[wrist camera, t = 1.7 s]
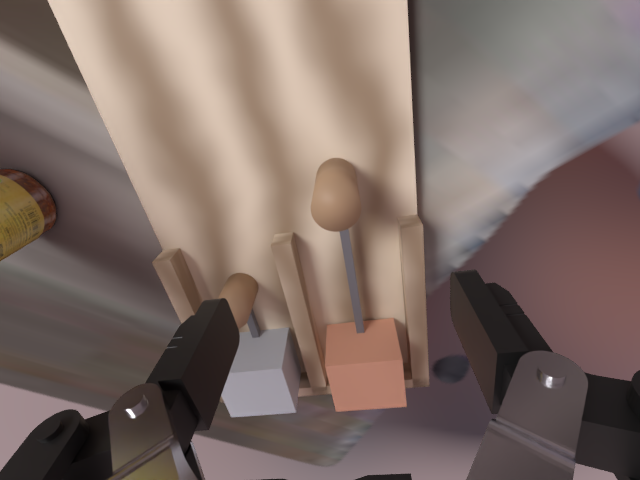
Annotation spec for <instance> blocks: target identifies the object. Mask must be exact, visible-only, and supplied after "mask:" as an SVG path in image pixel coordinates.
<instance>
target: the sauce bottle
mask: <svg viewBox="0 0 640 480" xmlns="http://www.w3.org/2000/svg"><path fill="white" fill-rule="evenodd" d="M55 220H56V206H55V203H54V201H53V199H52V197H51V195H50V194H49V192H48V191H47V190H46V189H45V188H44V187H43V186H42V185H41V184H40V183H38V182H37V181H36V180H35V179H33V178H32V177H31V176H29V175H27V174H25V173H23V172H20V171H16V170H12V169H0V261H1V260H3V259H5V258H6V257H8V256H10V255H11V254H13V253H14V252H16V251H18V250H19V249H21V248H23V247H24V246H26V245H27V244H29V243H31V242H32V241H34V240H36V239H38V238H39V236H40V235H41V234H42V233H44V232H45V231H47V230H49V229H50V228H51V227H52V226H53V225H54V223H55Z"/></svg>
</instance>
